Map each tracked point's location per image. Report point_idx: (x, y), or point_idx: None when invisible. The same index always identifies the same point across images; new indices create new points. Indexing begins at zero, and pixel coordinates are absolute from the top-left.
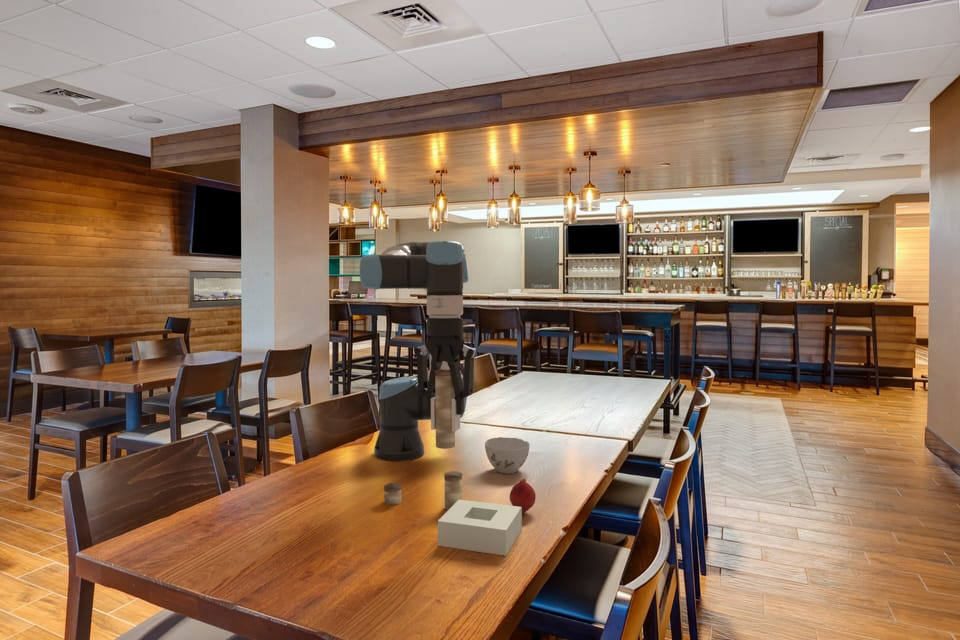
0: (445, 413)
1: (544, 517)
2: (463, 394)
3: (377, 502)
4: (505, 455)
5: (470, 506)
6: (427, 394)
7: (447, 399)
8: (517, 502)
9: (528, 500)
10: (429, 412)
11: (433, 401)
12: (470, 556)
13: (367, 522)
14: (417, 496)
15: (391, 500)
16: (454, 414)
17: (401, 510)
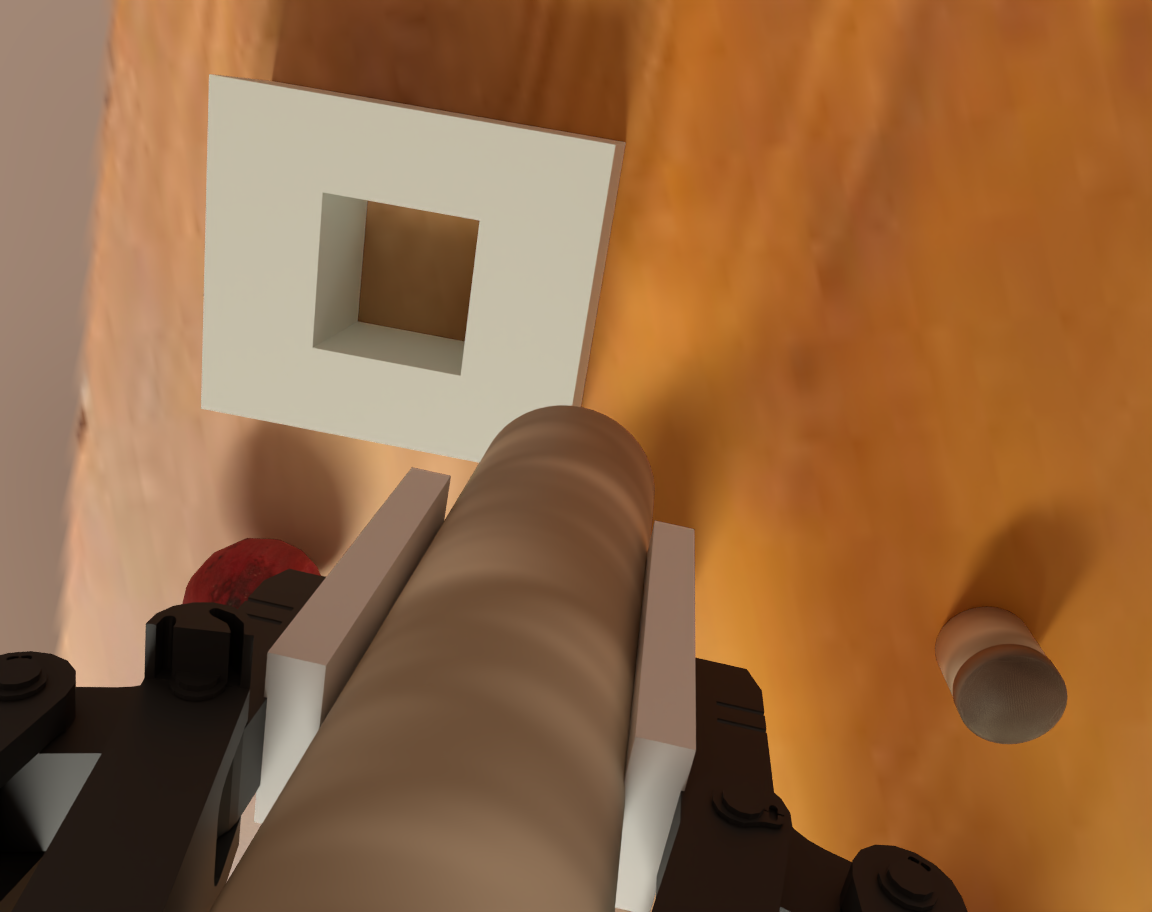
0: (472, 550)
1: (184, 531)
2: (69, 683)
3: (1072, 638)
4: None
5: (473, 383)
6: (761, 810)
7: (390, 664)
8: (272, 546)
9: (212, 555)
10: (725, 666)
11: (650, 712)
12: (439, 47)
13: (1077, 377)
14: (858, 728)
15: (990, 620)
16: (357, 550)
17: (911, 548)
